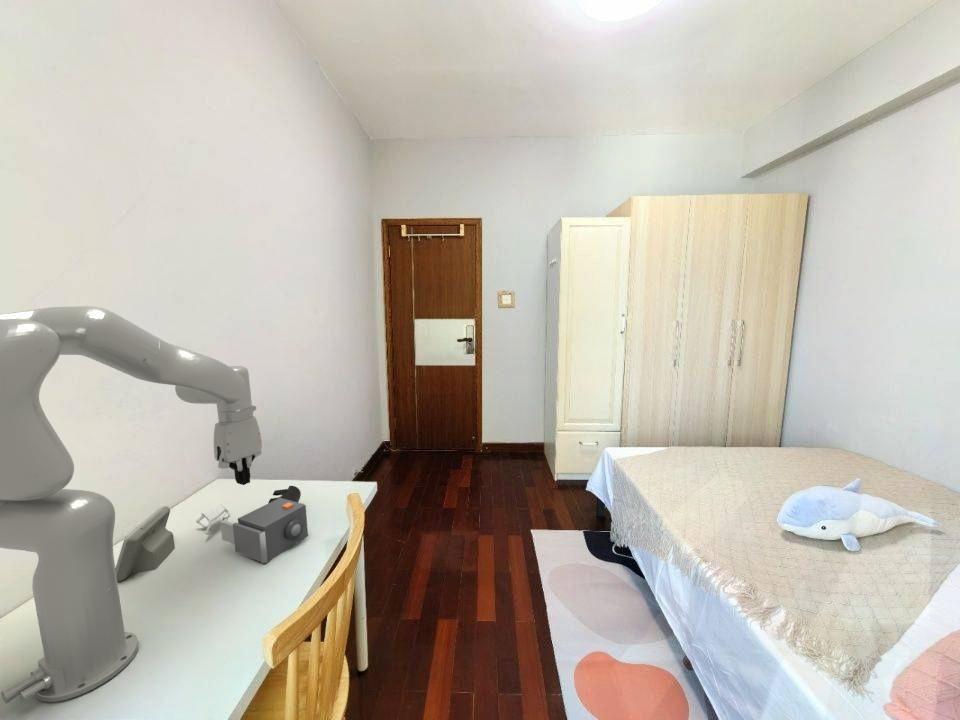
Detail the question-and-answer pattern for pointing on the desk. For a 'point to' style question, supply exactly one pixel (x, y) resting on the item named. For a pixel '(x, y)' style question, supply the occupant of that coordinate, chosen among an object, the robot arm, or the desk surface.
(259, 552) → the side door
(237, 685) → the desk surface
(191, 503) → the desk surface
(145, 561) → the digital clock
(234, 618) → the desk surface
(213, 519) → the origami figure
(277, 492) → the black curved claw shape
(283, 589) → the desk surface
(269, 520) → the camera body
